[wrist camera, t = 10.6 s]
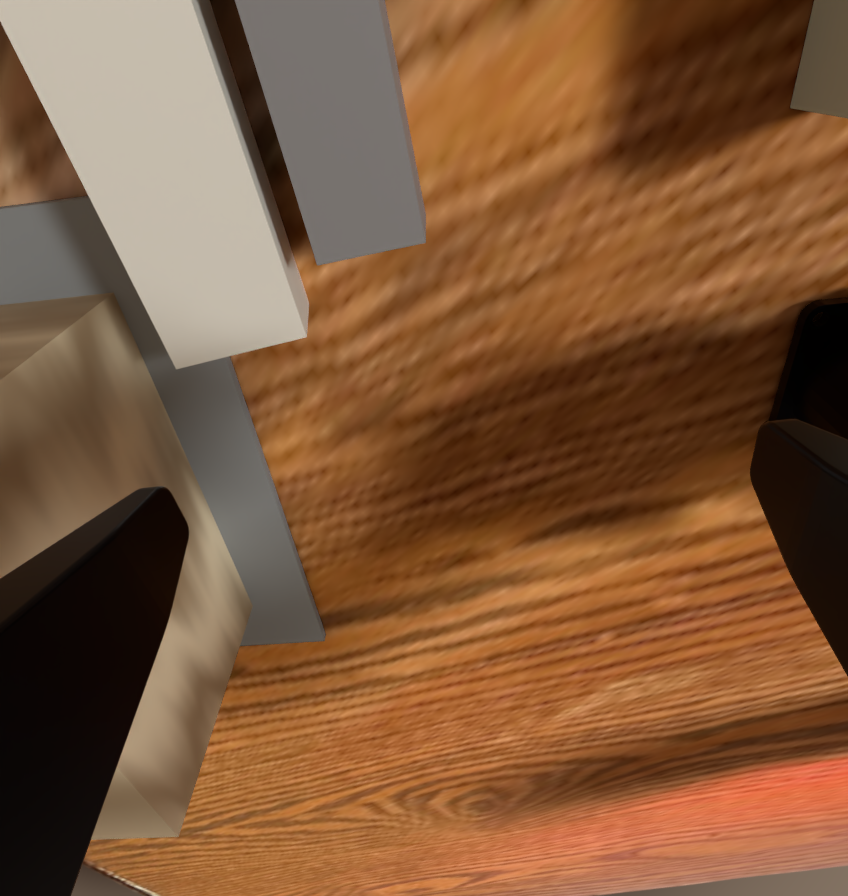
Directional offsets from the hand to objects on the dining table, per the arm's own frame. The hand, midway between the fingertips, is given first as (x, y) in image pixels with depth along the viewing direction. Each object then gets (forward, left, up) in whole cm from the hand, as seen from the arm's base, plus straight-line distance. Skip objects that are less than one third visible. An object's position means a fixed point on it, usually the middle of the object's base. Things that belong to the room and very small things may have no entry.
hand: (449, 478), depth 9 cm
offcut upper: (+5, +4, -10) cm, 12 cm away
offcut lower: (+5, +7, -11) cm, 14 cm away
